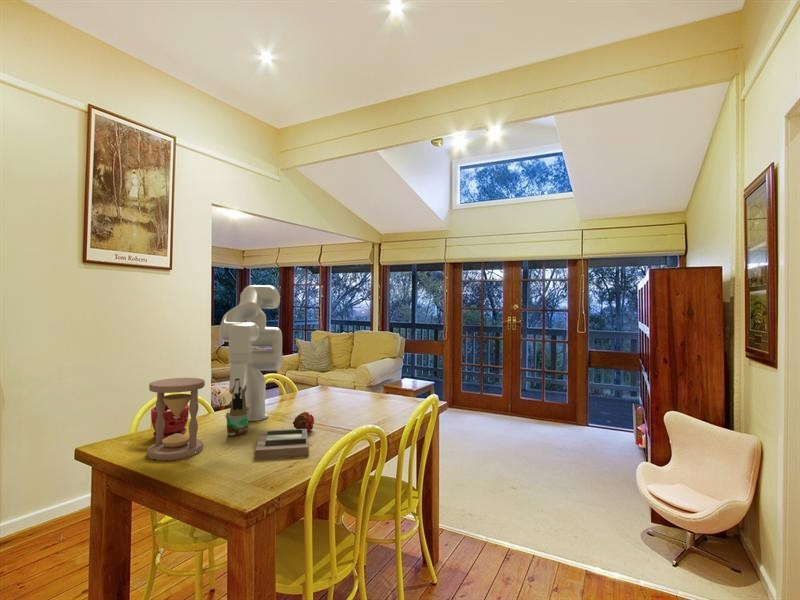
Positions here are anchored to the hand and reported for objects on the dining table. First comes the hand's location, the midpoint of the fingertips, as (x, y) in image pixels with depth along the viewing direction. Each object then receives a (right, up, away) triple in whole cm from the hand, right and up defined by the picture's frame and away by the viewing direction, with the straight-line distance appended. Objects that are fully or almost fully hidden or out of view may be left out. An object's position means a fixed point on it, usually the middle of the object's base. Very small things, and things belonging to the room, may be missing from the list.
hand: (238, 407), depth 151 cm
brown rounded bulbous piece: (0, -3, 0) cm, 3 cm away
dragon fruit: (+18, -16, +25) cm, 35 cm away
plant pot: (-33, -15, +13) cm, 39 cm away
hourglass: (-21, -15, -3) cm, 26 cm away
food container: (-6, -16, +18) cm, 25 cm away
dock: (+15, -16, +4) cm, 22 cm away
